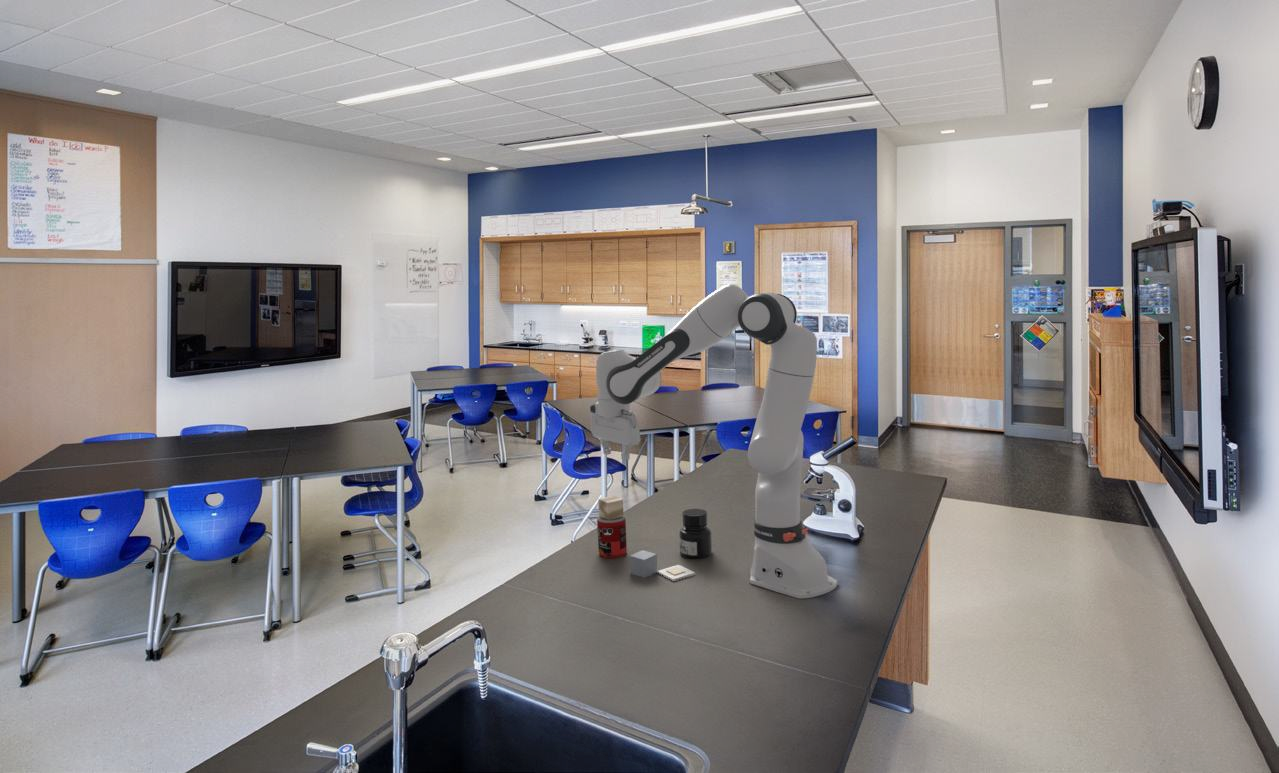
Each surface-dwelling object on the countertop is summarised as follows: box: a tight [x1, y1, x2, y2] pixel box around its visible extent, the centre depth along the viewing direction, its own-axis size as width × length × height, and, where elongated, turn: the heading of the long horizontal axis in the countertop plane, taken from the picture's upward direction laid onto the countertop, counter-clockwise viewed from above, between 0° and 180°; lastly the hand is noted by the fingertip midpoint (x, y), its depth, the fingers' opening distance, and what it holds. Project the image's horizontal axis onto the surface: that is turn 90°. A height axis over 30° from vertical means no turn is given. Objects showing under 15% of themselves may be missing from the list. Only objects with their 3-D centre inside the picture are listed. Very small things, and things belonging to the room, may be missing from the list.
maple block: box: [597, 495, 625, 520], centre depth 200 cm, size 5×5×5 cm
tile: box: [656, 564, 696, 582], centre depth 186 cm, size 7×7×1 cm
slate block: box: [629, 549, 658, 579], centre depth 187 cm, size 5×5×5 cm
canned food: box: [596, 514, 628, 559], centre depth 201 cm, size 8×8×11 cm
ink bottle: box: [679, 508, 713, 560], centre depth 199 cm, size 10×9×12 cm
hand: (616, 456), depth 200 cm, fingers open, 8 cm apart
